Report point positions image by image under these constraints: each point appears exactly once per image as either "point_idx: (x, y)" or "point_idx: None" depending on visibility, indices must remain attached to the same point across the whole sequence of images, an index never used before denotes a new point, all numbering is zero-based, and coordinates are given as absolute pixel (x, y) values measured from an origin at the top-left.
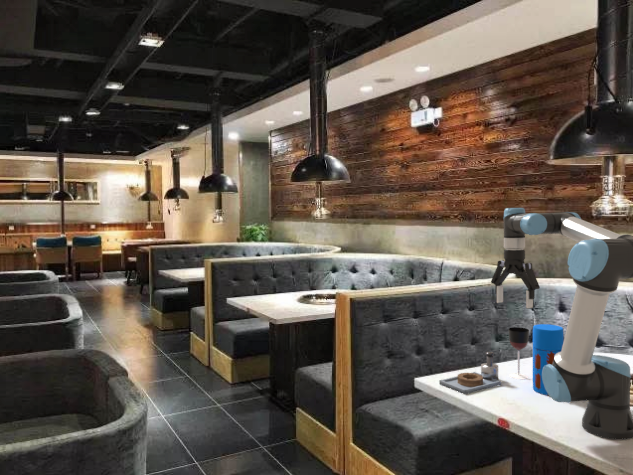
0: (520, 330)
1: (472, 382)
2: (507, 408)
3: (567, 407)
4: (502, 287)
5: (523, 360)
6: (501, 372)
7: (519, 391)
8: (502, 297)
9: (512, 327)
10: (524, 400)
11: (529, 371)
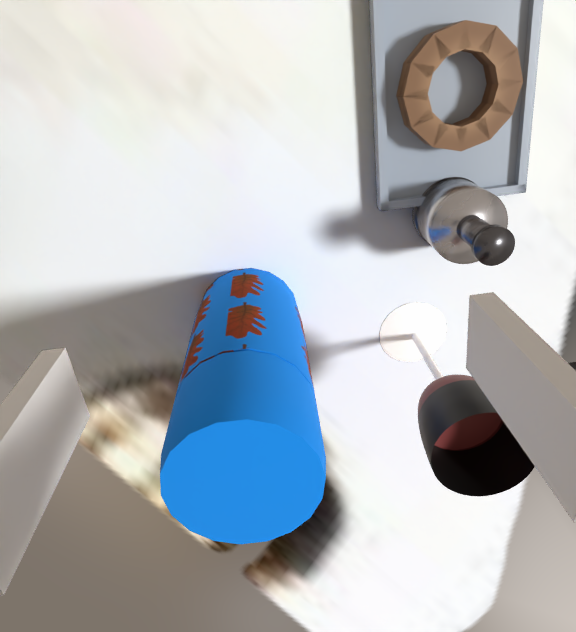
0: (502, 477)
1: (412, 57)
2: (153, 27)
3: (90, 253)
4: (559, 487)
5: None
6: None
7: (288, 219)
8: (489, 390)
9: None
10: (202, 164)
11: None
